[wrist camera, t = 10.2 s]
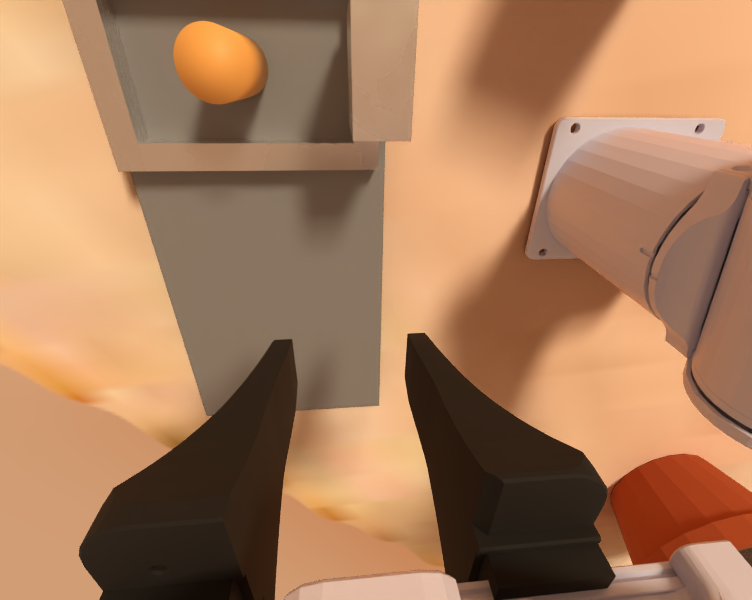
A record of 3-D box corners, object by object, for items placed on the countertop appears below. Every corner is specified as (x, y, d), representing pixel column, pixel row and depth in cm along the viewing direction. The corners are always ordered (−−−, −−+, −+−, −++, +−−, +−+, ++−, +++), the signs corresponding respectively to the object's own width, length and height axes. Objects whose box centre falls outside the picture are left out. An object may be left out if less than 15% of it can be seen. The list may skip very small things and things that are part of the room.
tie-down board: (387, -91, 15) (390, -101, 14) (377, 395, 29) (379, 405, 28) (57, -108, 14) (39, -120, 13) (210, 405, 28) (206, 415, 27)
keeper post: (264, 34, 16) (241, 21, 12) (271, 97, 17) (253, 104, 13) (206, 32, 16) (164, 19, 12) (217, 97, 17) (183, 104, 13)
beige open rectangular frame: (394, -42, 15) (424, -104, 10) (388, 164, 19) (407, 198, 14) (62, -55, 14) (-103, -133, 9) (130, 166, 18) (46, 203, 13)
